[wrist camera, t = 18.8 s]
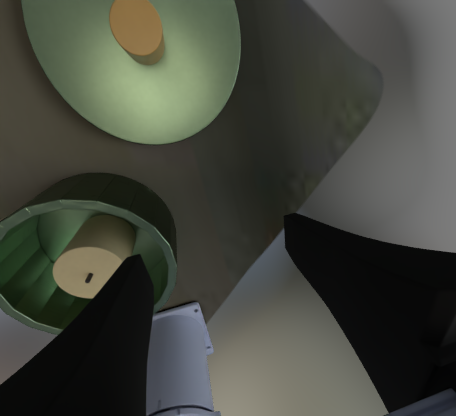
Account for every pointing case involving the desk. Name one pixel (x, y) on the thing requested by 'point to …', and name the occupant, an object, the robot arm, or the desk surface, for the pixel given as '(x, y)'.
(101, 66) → the tin lid
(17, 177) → the desk surface
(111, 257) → the candle
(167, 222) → the tin
